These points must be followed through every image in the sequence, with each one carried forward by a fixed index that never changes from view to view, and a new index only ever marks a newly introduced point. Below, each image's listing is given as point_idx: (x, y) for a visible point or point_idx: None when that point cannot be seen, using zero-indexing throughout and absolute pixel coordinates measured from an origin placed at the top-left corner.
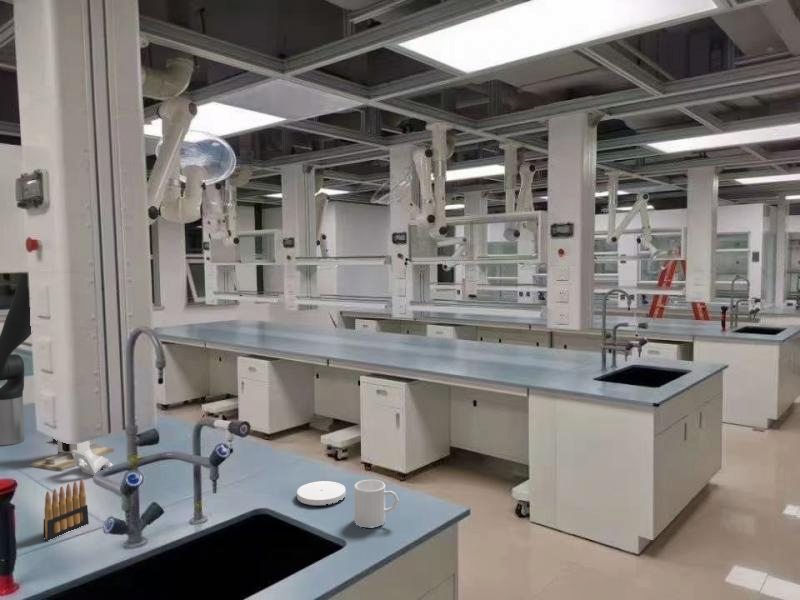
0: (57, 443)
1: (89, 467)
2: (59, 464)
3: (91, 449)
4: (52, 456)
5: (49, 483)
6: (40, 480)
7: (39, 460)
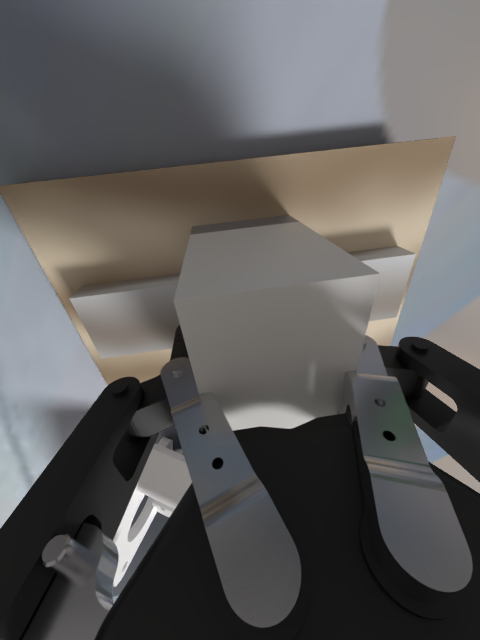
0: (185, 253)
1: (145, 507)
2: (127, 357)
3: None
4: (170, 191)
5: (38, 446)
6: (17, 410)
7: (67, 191)
